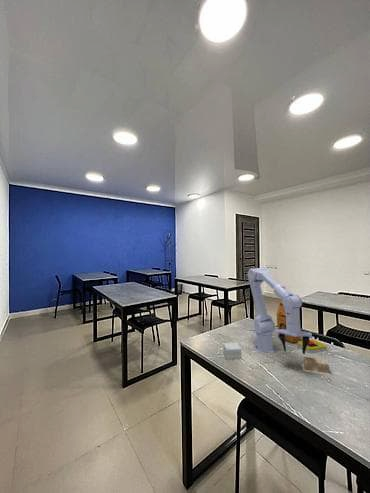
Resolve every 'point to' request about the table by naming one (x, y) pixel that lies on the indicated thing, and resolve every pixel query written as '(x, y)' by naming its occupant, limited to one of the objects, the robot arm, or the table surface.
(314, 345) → the emergency button
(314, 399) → the table surface
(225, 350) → the small box
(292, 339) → the coffee package
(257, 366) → the table surface
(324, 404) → the table surface
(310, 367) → the wooden block
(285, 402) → the table surface
